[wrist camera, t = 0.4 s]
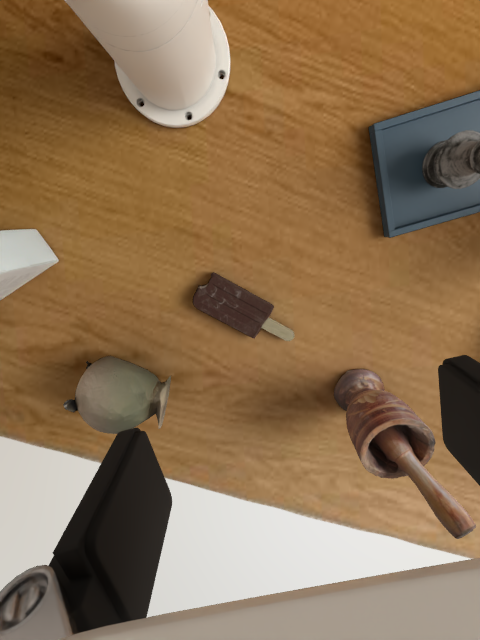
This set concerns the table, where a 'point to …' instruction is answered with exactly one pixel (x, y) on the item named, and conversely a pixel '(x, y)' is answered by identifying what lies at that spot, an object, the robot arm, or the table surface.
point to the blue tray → (407, 160)
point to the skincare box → (22, 258)
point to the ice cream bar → (238, 308)
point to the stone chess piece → (454, 161)
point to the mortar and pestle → (395, 443)
